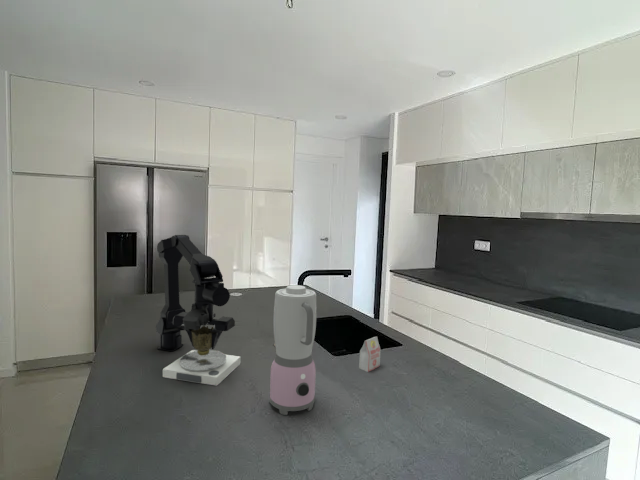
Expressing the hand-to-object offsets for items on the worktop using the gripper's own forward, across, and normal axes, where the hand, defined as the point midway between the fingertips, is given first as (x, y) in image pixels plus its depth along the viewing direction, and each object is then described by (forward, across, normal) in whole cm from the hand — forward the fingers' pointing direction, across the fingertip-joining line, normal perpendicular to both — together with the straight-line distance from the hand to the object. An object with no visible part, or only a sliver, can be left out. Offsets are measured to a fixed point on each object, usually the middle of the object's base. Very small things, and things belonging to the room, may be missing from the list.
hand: (203, 347), depth 118 cm
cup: (+2, 0, 0) cm, 2 cm away
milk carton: (+8, +51, +19) cm, 55 cm away
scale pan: (+5, 0, 0) cm, 5 cm away
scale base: (+7, 0, 0) cm, 7 cm away
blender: (+8, +34, -12) cm, 37 cm away
